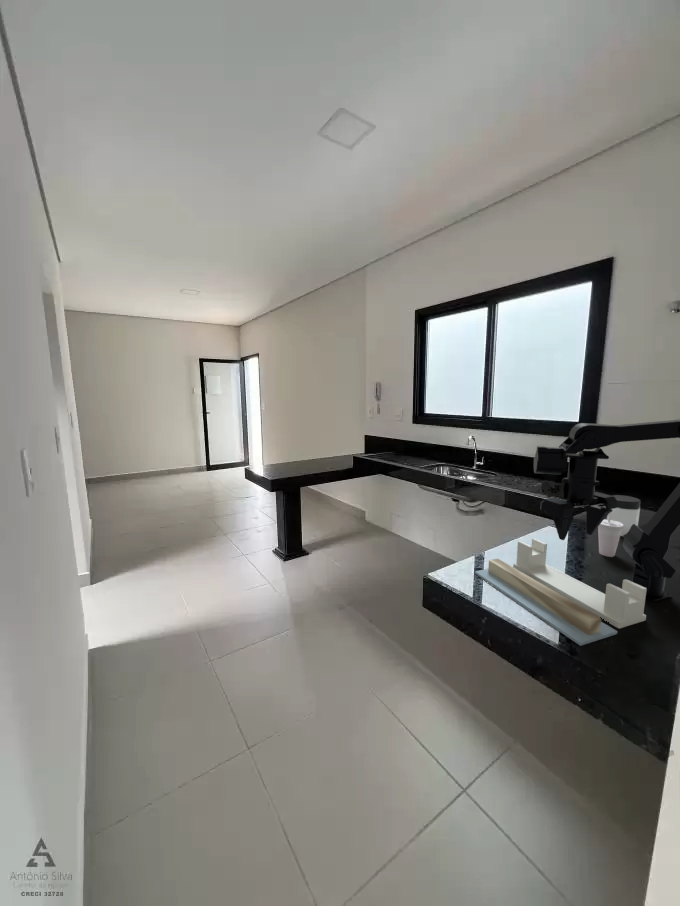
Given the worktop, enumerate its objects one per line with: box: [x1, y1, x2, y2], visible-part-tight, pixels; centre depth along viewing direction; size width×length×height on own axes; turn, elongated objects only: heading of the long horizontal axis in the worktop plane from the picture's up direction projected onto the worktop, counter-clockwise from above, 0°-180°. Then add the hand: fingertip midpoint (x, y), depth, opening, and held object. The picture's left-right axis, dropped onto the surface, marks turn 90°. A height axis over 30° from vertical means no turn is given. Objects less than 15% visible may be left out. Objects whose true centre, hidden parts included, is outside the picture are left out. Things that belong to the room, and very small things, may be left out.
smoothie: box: [597, 512, 624, 558], centre depth 107 cm, size 6×6×14 cm
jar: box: [606, 494, 641, 537], centre depth 123 cm, size 9×8×12 cm
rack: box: [512, 538, 647, 629], centre depth 88 cm, size 8×28×8 cm, turn 19°
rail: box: [487, 558, 602, 635], centre depth 85 cm, size 3×28×3 cm, turn 19°
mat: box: [474, 568, 618, 647], centre depth 85 cm, size 10×30×1 cm, turn 19°
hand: (575, 536), depth 91 cm, fingers open, 9 cm apart
